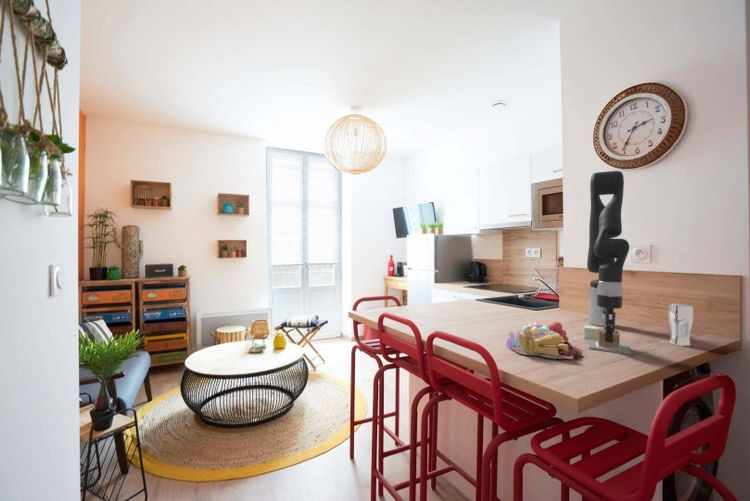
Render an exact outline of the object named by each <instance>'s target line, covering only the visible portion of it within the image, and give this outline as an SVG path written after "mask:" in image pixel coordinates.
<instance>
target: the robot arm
mask: <svg viewBox="0 0 750 501" xmlns="http://www.w3.org/2000/svg"><path fill="white" fill-rule="evenodd" d="M624 185H625V177H624V174H623V171H620V170H612V171H610V170H609V171H599V172H594V173H592V175H591V177H590V184H589V187H590V188H589V190H590V191H589V192H590V215H589V228H588V229H589V231H588V232H589V233H588V235H589V237H588V239H589V242H588V243H589V244H588V252H587V253H588V254H587V262H586V265H587V266H586V267H587V270H588V272H590V273H596V274H598V278H597V279H593V280H591V281H590V284H589V308H588V309H589V312H588V313H589V315H588V323H589V324H591V325H592V326H593V325H594V326H600V327H603V329H604V330H605V341H606V342H610V343H612V342H613V332H614V331H616V329H615V327H616V318H617V313H616V311H615V309H618V310H619V309H621V308H622V307H623V288H624V287H623V270H624V265H625V262H626V260H627V257H628V254H629V252H630V243H629V241H628V240H626V239H625V238H617V237H620V236H621V234H622V233H623V232H622V231H623V228H622V227H623V226H622V224H623V223H622V209H623V200H624V188H625V186H624ZM607 195H613V196H612V198H611V199H610V201H609V202H608V203H607V204H606V205H605V204H604V203H603V201H602V199H601V197H600V196H607Z"/></svg>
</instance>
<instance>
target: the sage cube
mask: <svg viewBox="0 0 750 501" xmlns="http://www.w3.org/2000/svg"><path fill="white" fill-rule="evenodd" d="M598 329H599V327H598V326H593V325H583V339H584V340H588V339H590V340H597V341H598Z"/></svg>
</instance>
